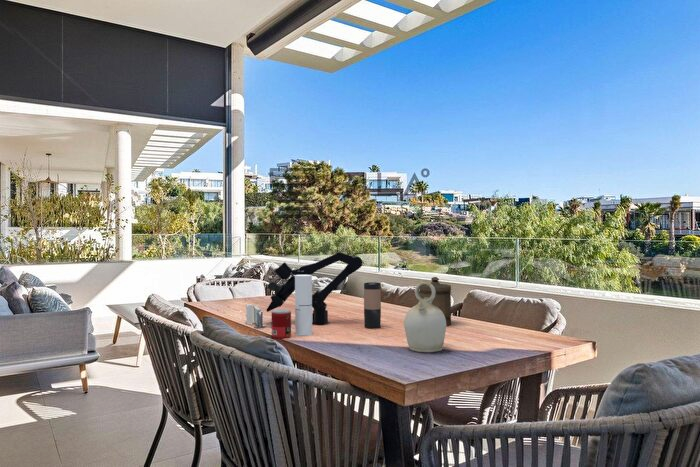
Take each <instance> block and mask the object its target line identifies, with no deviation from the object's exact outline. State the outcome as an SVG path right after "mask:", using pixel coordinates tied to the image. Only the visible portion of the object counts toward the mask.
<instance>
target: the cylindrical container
mask: <svg viewBox="0 0 700 467" xmlns="http://www.w3.org/2000/svg"><path fill="white" fill-rule="evenodd" d="M294 276H295V291H294V300H295V301H294V306H295V307H294V315H295V316H294V325H295V326H294V327H295V329H294V331H295V334H294V335H295V336H298V337H308V336H312V335H313V324H312V314H313V307H312V294H313V277H312V276H313V274H311V275H294Z"/></svg>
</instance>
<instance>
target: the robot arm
mask: <svg viewBox="0 0 700 467" xmlns="http://www.w3.org/2000/svg"><path fill="white" fill-rule="evenodd" d="M339 261H340V262H343V263H345V264H346V266H345V267H344V268H343V269H342V270H341V271H340V273H338V274H337V275H336V276H335V277H334V278H333V279H332V280H331V281H330V282H329V283H328V284H326V286H325V287H324V288H323V289H316V291H315V292H314V293H312V325H321V326H324V325H326V324H329V323H330V321H329V318H328V317H329V315H328V314H329V313H328V312H329V311H328V310H327V307H328V304H327V303H326V302H325V300H326V299H327V298H328V296H329V295H330V294H331V293H332V292H333V291H334V290H335V289H336V288H337V287H338V286H339V285H341V284H342V283H343V282H344V280H346V279H347V278H348V277H349V276H350V275H352V274H353V273H355V272H356V271H358V270H360V269H361V267H362V266H363V259H362V257H360V256H358V255H357V256H356V255H355V256H351V255H349V254H346V253H343V252H342V251H337V252H336V253H334V254H332V255H330V256H327V257H326V258H323V259H321V260H318V261H317V262H314V263H309V264H306V265H301V266H300V267H299V268H294V269H292V268H291V267H290V266H289V265H288V263H287V262H286V261H284V262H283V263H282V264H281V265H280V266H278V267H277V268H276V269H275V271H274V273H275V275H277V276H278V278H280V280H282V281H284V280H285V281H286V282H285V283H282V284H279V283H277V282H274V281H272V280H271V281H269V282H268V284H267V289H268V290H272V291H274V293H273V294H272V295H271V296H270V299H271V302H270V303H269V305H268V307H267V308H266V312H267V313H269V312H272V310H276V309H277V308H281V307H282V306H283V305H284V303H285V302H286V301H287V300H288V299H289V297H290V296H291V295H292V294H293V293H295V275H313V274H314V273H315V272H317V271H319V270H321V269H323V268H324V269H325V268H326V267H329V266H330V265H332V264H335V263H337V262H339Z"/></svg>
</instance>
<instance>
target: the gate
mask: <svg viewBox="0 0 700 467" xmlns="http://www.w3.org/2000/svg"><path fill="white" fill-rule="evenodd" d="M261 310H262V309H261V308H259V306H257V305H253V323H255V325H257V312H262V311H261Z"/></svg>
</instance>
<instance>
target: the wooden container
mask: <svg viewBox="0 0 700 467" xmlns="http://www.w3.org/2000/svg"><path fill="white" fill-rule="evenodd" d="M439 281H440V279H439V278H438V276H433V277H431V282H430V283H431V284H432V285H433V286H434V288H435V292H436V294H435V297H434V299H433V301H432V303H431V304H432V305H434V306H436V307H438V308H439V309H440V310H441V311H442V312H443V314H444V316H445V319H446V327H449V326H451V325H452V302H451V301H452V299H451V298H452V297H451V296H452V295H451V293H452V286H451V285H450V284H448V283H447V284H444V283H440V282H439ZM431 294H432V292H431V289H430V288H429V287H428V286H427V285H423V286H421V287H420V289H419V295H420V296H421V297H422V298H426V297H428V298H430V296H431Z"/></svg>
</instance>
